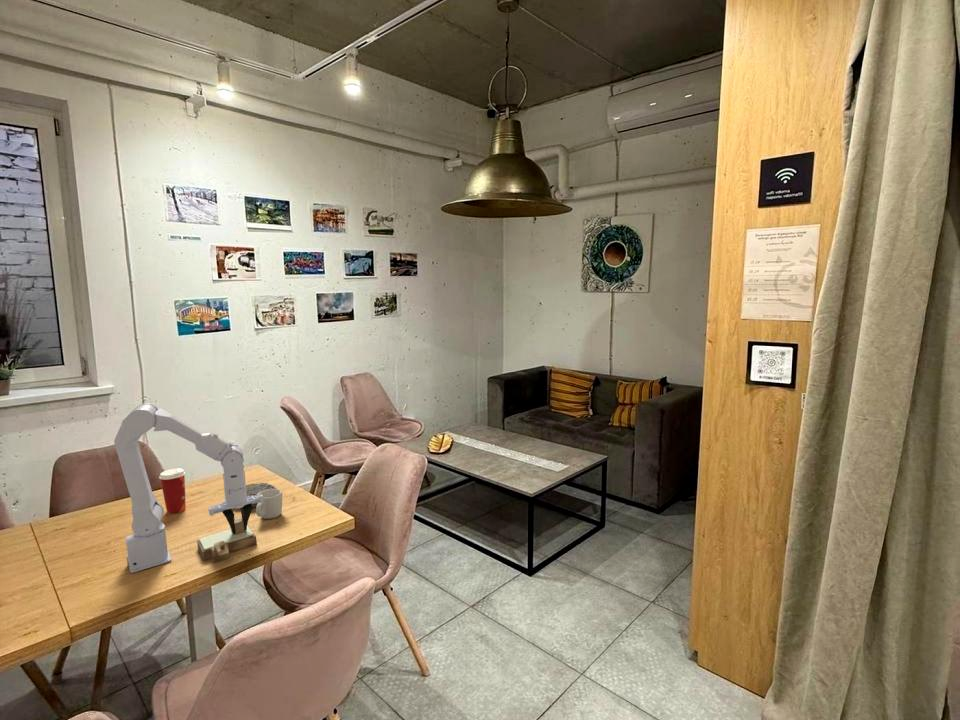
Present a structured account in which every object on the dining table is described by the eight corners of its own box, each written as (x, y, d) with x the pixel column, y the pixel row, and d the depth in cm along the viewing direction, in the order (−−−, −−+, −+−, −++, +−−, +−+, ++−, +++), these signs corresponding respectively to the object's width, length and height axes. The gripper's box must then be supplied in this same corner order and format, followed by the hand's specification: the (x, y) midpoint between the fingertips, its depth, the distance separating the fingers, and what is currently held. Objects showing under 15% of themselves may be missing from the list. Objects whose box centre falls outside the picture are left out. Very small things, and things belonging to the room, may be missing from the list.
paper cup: (193, 508, 174) (189, 470, 172) (170, 517, 168) (165, 477, 166) (181, 504, 178) (177, 466, 176) (158, 512, 172) (154, 473, 170)
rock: (283, 499, 181) (253, 494, 187) (282, 482, 181) (251, 478, 186) (255, 512, 170) (224, 507, 176) (254, 494, 169) (222, 489, 175)
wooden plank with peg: (219, 555, 135) (218, 548, 135) (214, 547, 140) (213, 539, 139) (228, 552, 136) (227, 545, 136) (223, 544, 141) (223, 537, 141)
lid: (204, 550, 139) (202, 537, 139) (199, 540, 146) (197, 527, 145) (253, 535, 147) (252, 522, 147) (246, 525, 153) (245, 513, 153)
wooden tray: (205, 565, 137) (204, 553, 136) (197, 548, 146) (196, 537, 145) (259, 548, 145) (258, 537, 145) (248, 533, 155) (247, 523, 154)
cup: (269, 526, 159) (267, 502, 158) (247, 524, 161) (245, 500, 160) (288, 511, 170) (287, 489, 169) (268, 510, 171) (266, 487, 170)
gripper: (210, 498, 139) (214, 543, 141) (264, 485, 148) (268, 528, 150) (205, 490, 145) (209, 534, 146) (258, 478, 153) (261, 520, 155)
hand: (239, 531), depth 148 cm, fingers closed on lid, 2 cm apart
